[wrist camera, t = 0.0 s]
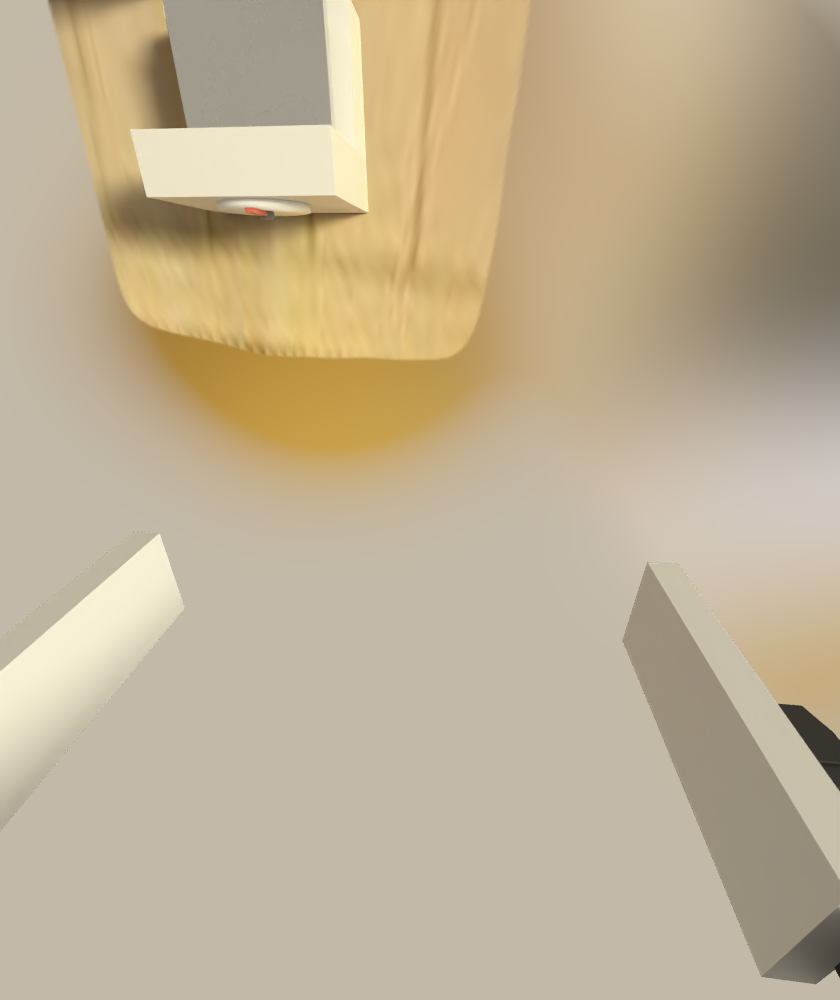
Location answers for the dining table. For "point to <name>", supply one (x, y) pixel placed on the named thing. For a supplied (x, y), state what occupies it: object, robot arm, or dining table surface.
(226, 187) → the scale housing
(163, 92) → the dining table surface
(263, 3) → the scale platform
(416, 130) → the dining table surface
